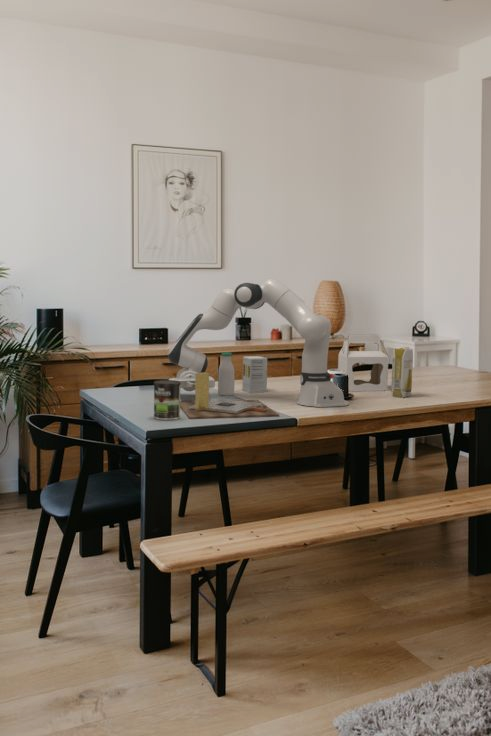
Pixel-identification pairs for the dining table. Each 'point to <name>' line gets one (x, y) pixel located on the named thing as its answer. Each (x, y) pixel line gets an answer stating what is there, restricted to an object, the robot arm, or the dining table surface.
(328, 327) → the robot arm
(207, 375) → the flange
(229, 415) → the base board
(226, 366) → the milk bottle
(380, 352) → the gable box
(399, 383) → the juice carton
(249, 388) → the supplement box
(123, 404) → the dining table surface
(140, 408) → the dining table surface
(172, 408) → the coffee can
